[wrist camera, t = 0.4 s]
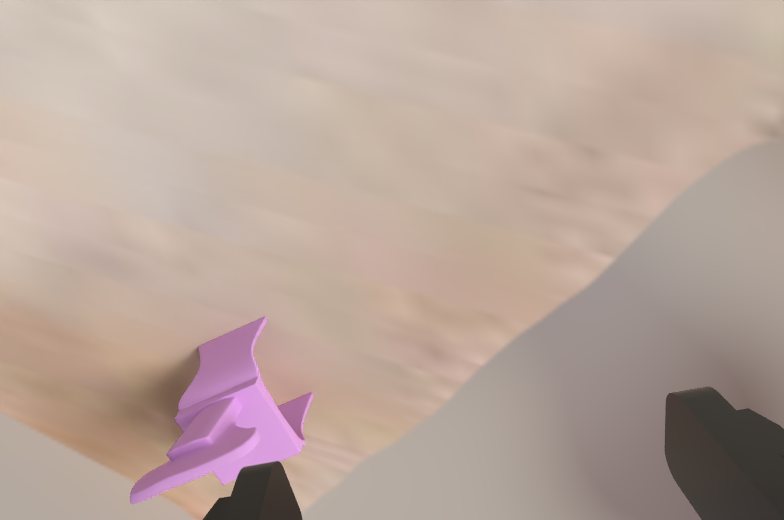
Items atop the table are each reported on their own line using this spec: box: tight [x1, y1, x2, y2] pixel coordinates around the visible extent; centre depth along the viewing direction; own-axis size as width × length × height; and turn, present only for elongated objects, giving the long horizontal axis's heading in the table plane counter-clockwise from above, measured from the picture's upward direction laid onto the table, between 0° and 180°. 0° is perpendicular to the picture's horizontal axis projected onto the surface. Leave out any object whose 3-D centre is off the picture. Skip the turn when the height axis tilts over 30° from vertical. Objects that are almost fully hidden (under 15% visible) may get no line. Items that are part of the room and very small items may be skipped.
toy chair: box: [130, 317, 314, 504], centre depth 34 cm, size 8×9×15 cm
